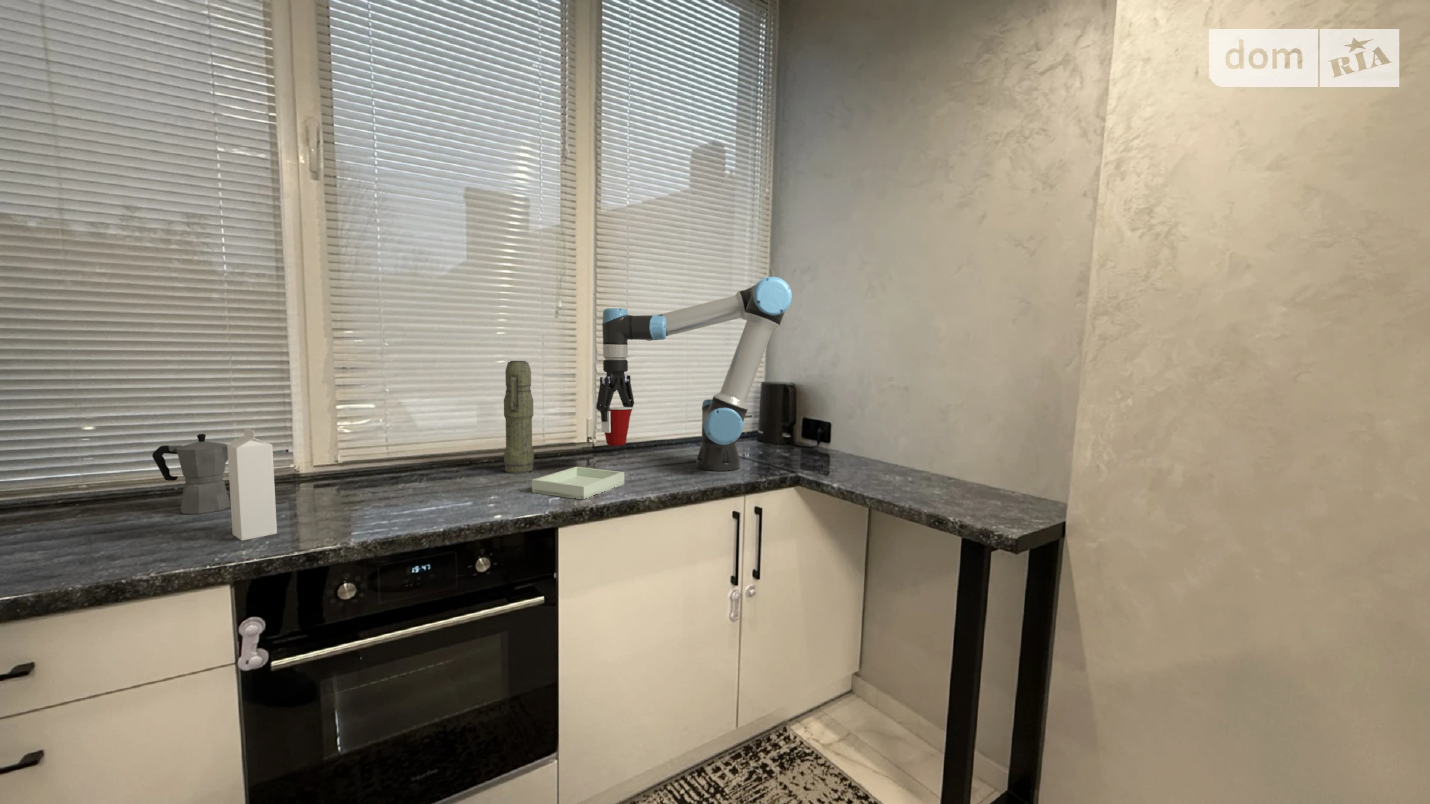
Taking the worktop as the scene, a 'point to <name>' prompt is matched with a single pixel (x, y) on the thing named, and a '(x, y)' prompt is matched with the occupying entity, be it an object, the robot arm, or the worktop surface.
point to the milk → (251, 487)
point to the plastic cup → (618, 425)
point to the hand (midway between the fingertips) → (616, 429)
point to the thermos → (518, 418)
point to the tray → (578, 482)
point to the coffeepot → (199, 474)
